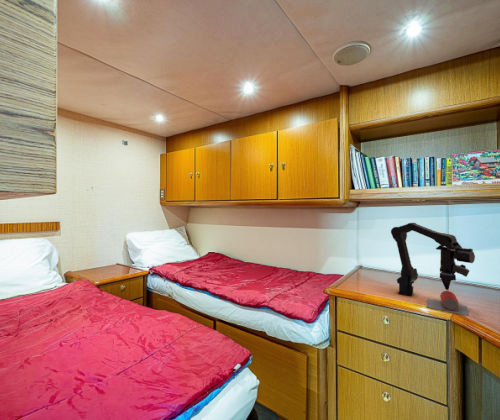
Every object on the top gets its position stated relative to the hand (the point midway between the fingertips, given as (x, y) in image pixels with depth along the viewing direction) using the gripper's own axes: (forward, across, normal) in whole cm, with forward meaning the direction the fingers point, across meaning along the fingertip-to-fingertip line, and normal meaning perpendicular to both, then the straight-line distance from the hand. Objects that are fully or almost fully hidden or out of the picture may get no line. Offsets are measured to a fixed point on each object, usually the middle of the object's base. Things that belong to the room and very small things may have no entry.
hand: (447, 289), depth 130 cm
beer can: (+5, +4, 0) cm, 6 cm away
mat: (+9, -2, 0) cm, 9 cm away
